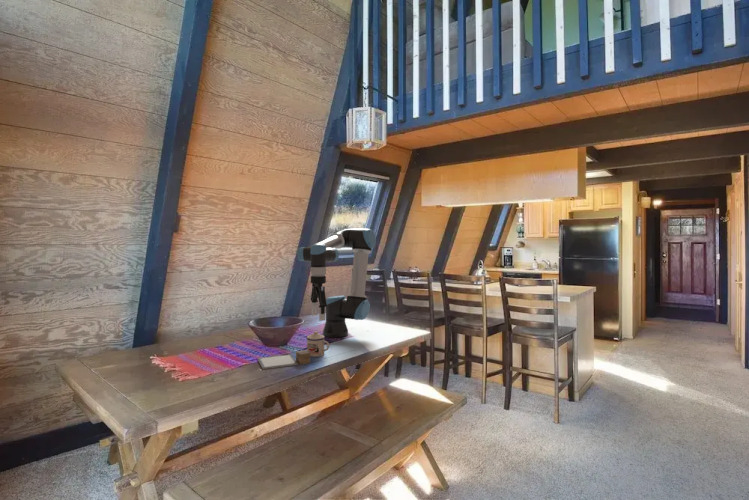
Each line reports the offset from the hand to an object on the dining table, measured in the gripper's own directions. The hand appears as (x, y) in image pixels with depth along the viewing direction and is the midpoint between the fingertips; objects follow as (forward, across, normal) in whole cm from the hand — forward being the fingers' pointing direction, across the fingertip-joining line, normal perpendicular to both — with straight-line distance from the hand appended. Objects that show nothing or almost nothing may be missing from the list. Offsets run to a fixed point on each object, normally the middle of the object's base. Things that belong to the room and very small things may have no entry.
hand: (318, 317), depth 207 cm
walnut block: (+19, +9, -10) cm, 23 cm away
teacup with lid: (+19, 0, 0) cm, 19 cm away
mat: (+19, +4, -21) cm, 28 cm away
